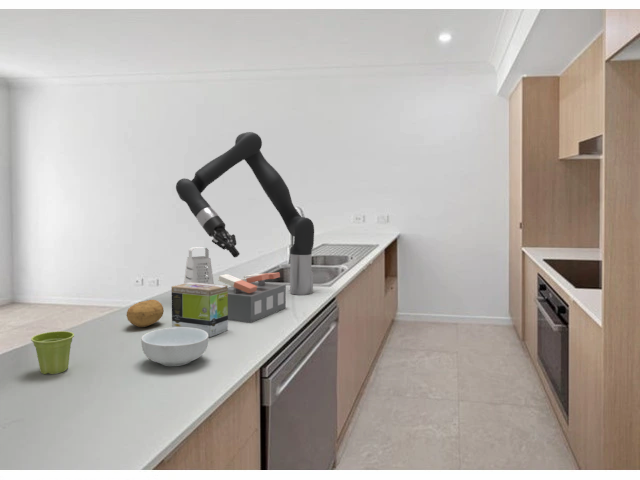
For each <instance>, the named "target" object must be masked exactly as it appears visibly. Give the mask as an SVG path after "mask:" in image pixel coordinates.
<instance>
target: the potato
mask: <svg viewBox="0 0 640 480" xmlns="http://www.w3.org/2000/svg"><path fill="white" fill-rule="evenodd" d="M164 310H165V309H164V306H163V304H162V303H161V302H160V301H158V300H157V299H149V300H144V301H139V302H136V303H134V304H133V305H131V306H129V308H128V309H127V311H126V314H125V315H126V318H127V321H128V322H129V323H130V324H131V325H133V326H134V327H139V328H146V327H148V326H151V325H154V324H156V323H157V322H159V320H160V319H161V318H162V317H163V315H164Z"/></svg>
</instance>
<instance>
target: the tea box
mask: <svg viewBox="0 0 640 480" xmlns="http://www.w3.org/2000/svg"><path fill="white" fill-rule="evenodd" d="M228 287H229V285H228V284H215V283H214V284H205V283H194V282H190V283H185V284H184V283H181V284H177V285H172V286H171V328H173V327H190V328H197V329H201V330H204V331H206V332H207V333H208V338H210V337H214V336H217V335H219V334H222V333H225V332H226V331H228V329H229V320H228Z"/></svg>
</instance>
